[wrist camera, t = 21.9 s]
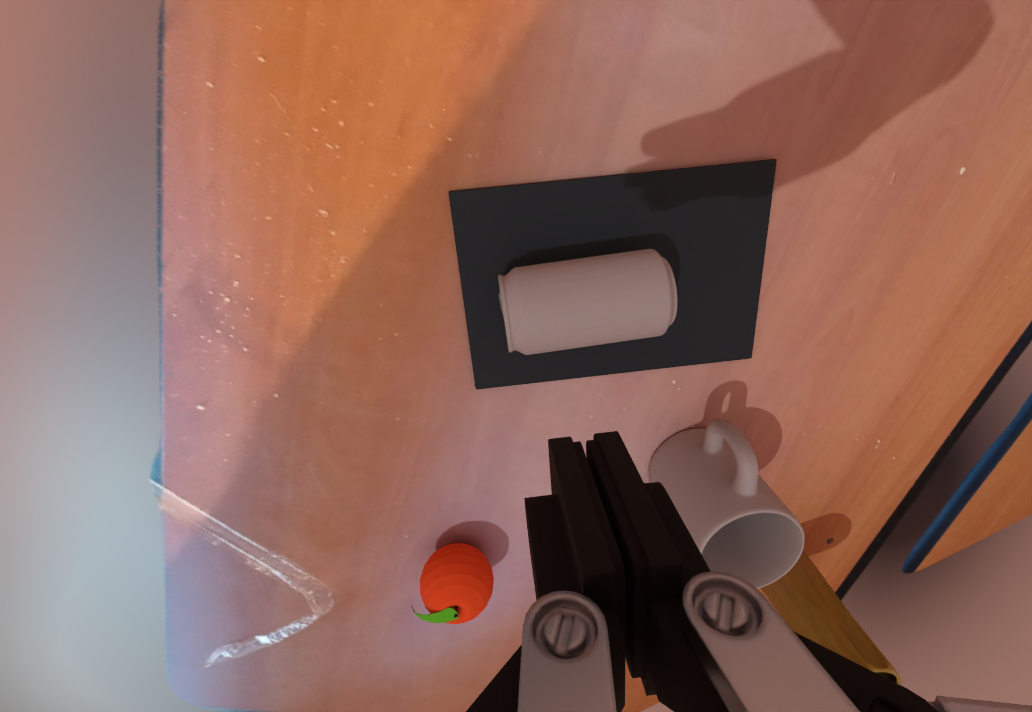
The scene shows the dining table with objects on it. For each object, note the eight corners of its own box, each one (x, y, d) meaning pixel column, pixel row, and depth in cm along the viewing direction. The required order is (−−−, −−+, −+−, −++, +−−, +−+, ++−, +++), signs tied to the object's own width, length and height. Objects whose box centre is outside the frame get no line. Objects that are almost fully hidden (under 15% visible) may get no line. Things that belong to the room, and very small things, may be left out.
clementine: (430, 589, 50) (423, 655, 43) (402, 543, 47) (390, 606, 40) (502, 566, 49) (505, 630, 43) (478, 518, 46) (478, 578, 40)
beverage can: (668, 351, 36) (510, 374, 35) (644, 287, 39) (500, 307, 39) (689, 296, 30) (503, 323, 30) (659, 227, 34) (492, 251, 33)
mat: (773, 159, 35) (776, 159, 35) (749, 356, 41) (751, 358, 41) (448, 191, 34) (448, 191, 34) (475, 387, 41) (475, 389, 40)
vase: (797, 566, 53) (902, 704, 40) (743, 578, 53) (830, 720, 40) (798, 526, 50) (912, 659, 37) (742, 538, 50) (835, 676, 37)
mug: (728, 495, 48) (795, 588, 38) (645, 503, 47) (690, 599, 37) (745, 390, 43) (828, 464, 33) (653, 397, 42) (707, 475, 32)
